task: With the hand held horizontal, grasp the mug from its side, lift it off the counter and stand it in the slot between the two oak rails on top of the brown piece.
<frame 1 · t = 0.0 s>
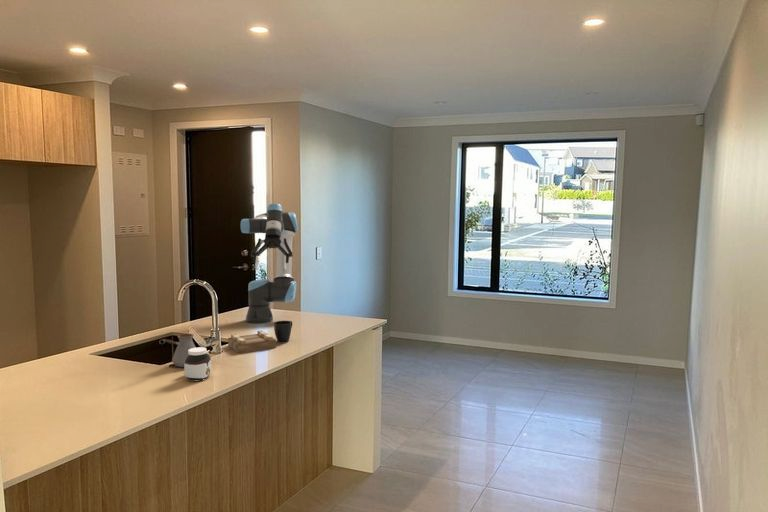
hand: (270, 268, 280), 36 cm above the counter, tool tilted 35°, fingers open, 13 cm apart
coffee pot: (179, 369, 240), on the counter
brown piece: (252, 346, 273), on the counter
mug: (285, 340, 286), on the counter
spread jar: (196, 377, 229), on the counter
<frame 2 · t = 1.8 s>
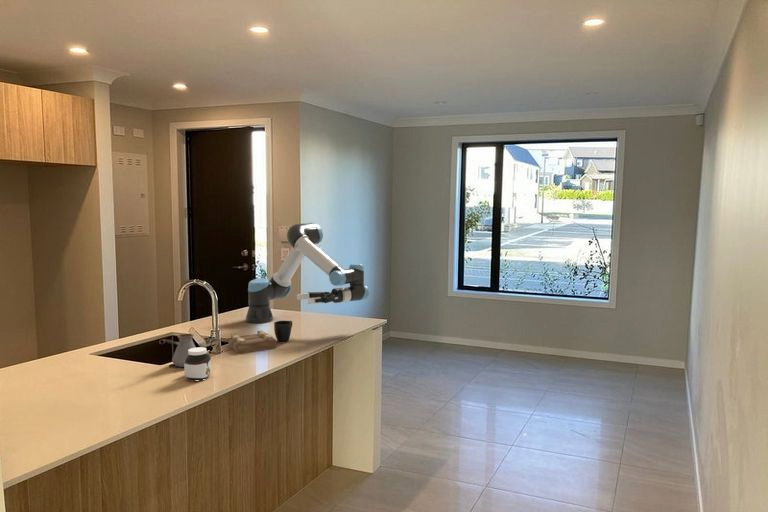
hand: (302, 299, 288), 20 cm above the counter, tool horizontal, fingers open, 13 cm apart
nothing on the counter moved.
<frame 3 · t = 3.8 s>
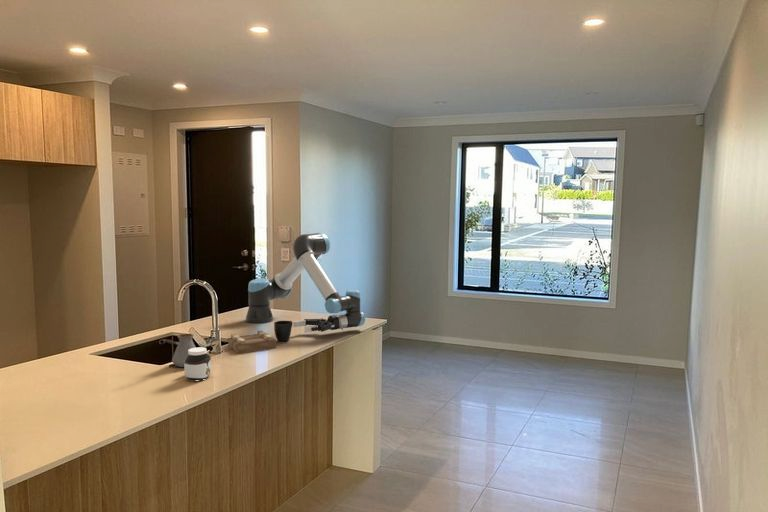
hand: (299, 327, 288), 6 cm above the counter, tool horizontal, fingers open, 13 cm apart
nothing on the counter moved.
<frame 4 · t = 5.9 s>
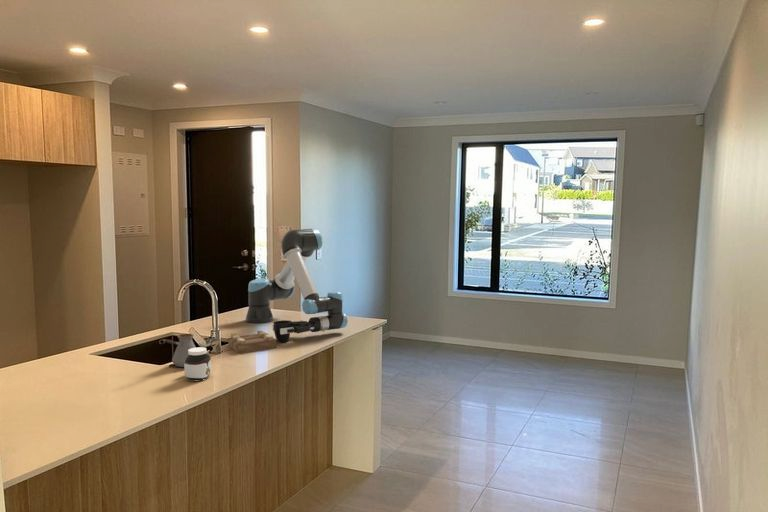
hand: (276, 329, 282), 6 cm above the counter, tool horizontal, fingers closed on mug, 9 cm apart
mug: (285, 340, 285), on the counter, touching gripper
everything else where it was.
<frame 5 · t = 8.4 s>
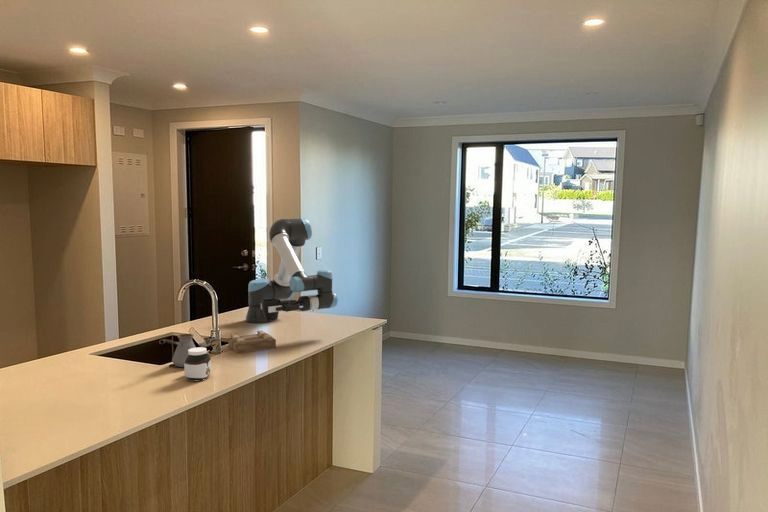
hand: (264, 308, 276), 18 cm above the counter, tool horizontal, fingers closed on mug, 9 cm apart
mug: (273, 319, 279), point 12 cm above the counter, touching gripper
everything else where it was.
when the fingers open (12 cm above the counter, at t = 10.6 s): mug drops 2 cm, resting on brown piece.
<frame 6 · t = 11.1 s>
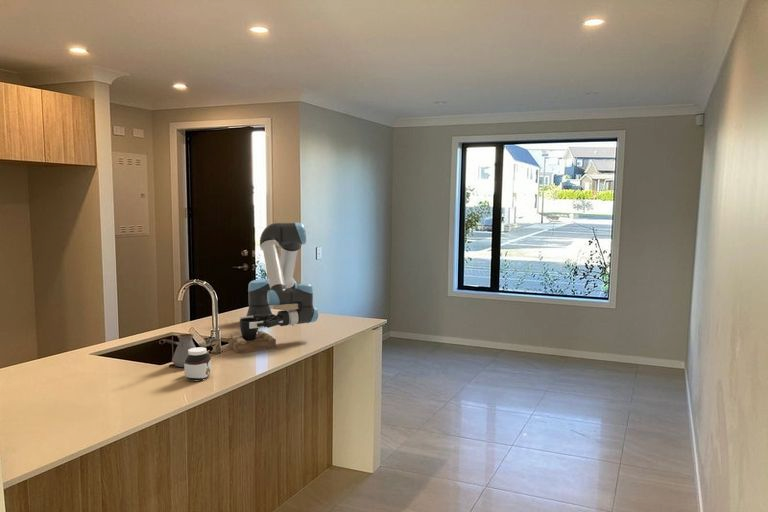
hand: (244, 322, 270), 12 cm above the counter, tool horizontal, fingers open, 13 cm apart
mug: (251, 338, 273), point 4 cm above the counter, touching brown piece
everything else where it was.
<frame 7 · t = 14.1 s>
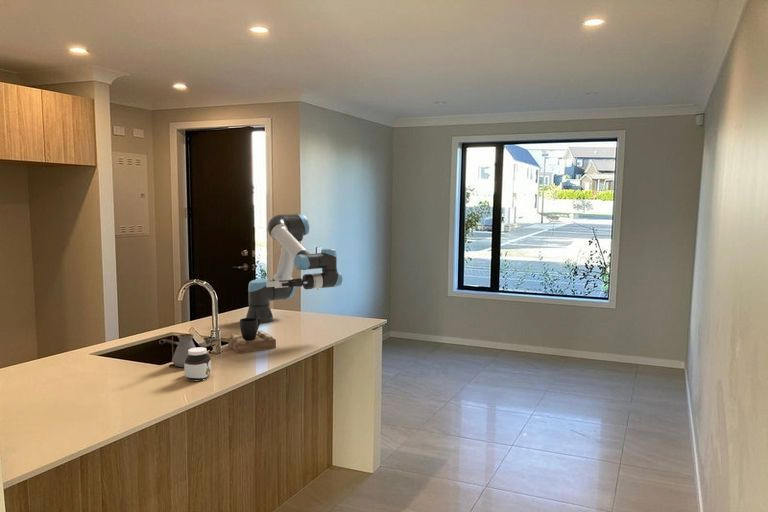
hand: (270, 284, 278), 28 cm above the counter, tool horizontal, fingers open, 13 cm apart
nothing on the counter moved.
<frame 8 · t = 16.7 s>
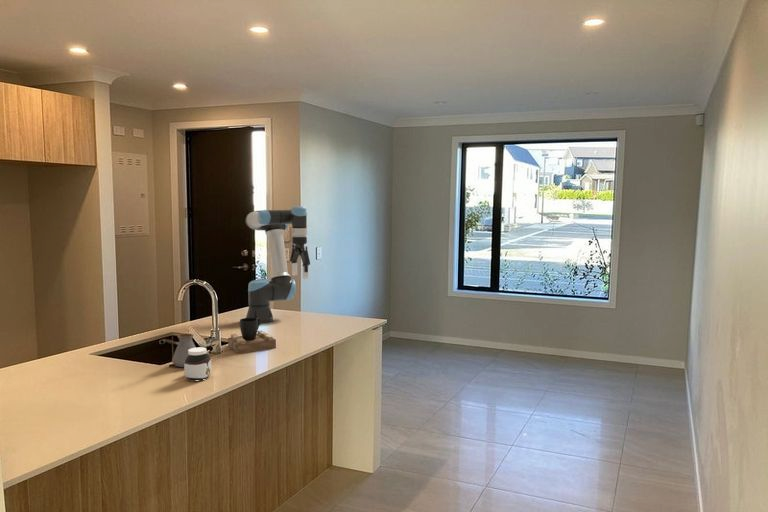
hand: (300, 276, 303), 29 cm above the counter, tool pointing down, fingers open, 13 cm apart
nothing on the counter moved.
at the end: mug inside the target area on the brown piece (0.3 cm from its centre), point 3.8 cm above the brown piece's base; mug tilted 0°; the gripper is holding nothing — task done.
